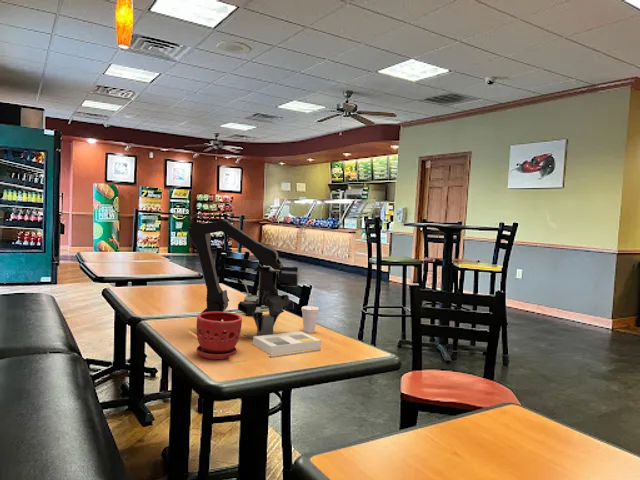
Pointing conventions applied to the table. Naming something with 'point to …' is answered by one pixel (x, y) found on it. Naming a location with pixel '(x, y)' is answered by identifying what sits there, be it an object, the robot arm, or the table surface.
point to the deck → (254, 335)
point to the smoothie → (309, 317)
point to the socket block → (287, 343)
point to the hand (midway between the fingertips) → (265, 330)
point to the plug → (266, 325)
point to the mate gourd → (250, 298)
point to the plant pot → (218, 334)
